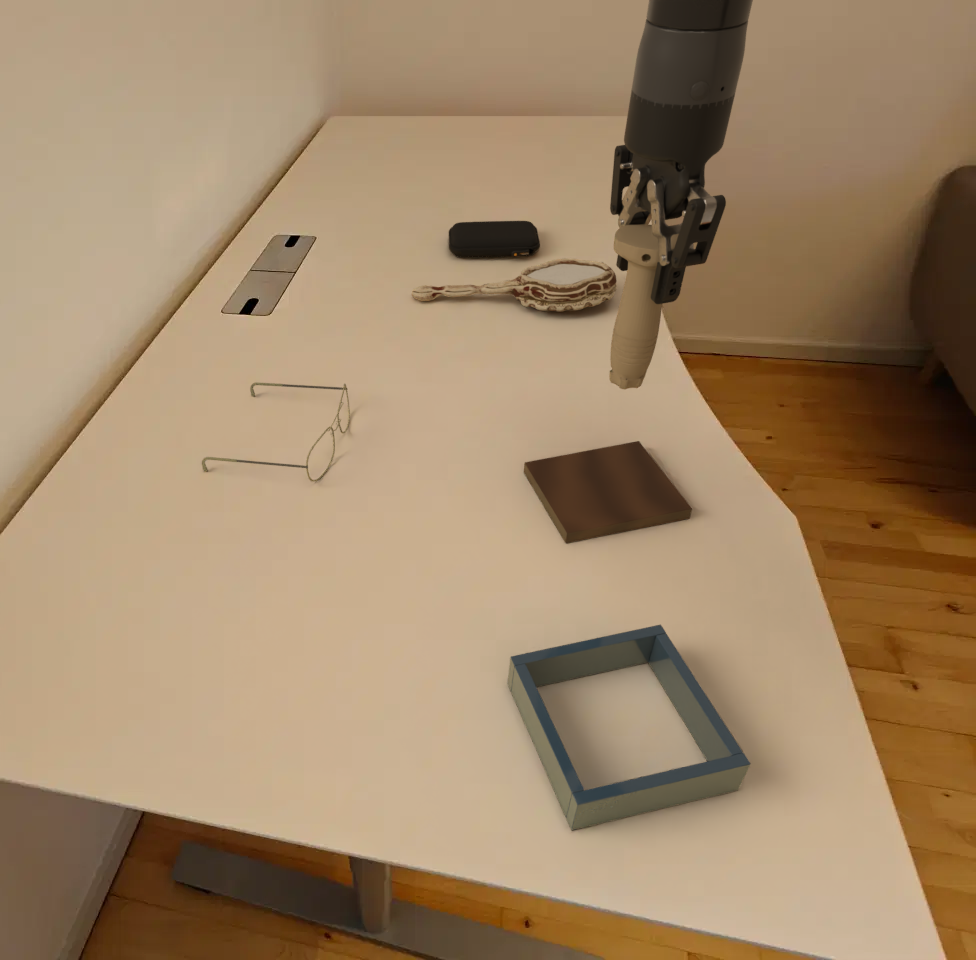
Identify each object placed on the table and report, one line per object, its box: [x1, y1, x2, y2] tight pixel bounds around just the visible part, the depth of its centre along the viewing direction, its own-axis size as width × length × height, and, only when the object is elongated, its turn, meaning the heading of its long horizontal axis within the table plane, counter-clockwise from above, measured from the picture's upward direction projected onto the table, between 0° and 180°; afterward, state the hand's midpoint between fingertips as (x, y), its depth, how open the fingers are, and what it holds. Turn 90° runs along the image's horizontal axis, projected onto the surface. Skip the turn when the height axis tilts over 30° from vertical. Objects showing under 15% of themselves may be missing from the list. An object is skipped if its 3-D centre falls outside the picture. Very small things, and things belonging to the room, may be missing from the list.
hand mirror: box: [411, 258, 618, 312], centre depth 125 cm, size 11×6×30 cm
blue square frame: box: [506, 624, 752, 831], centre depth 69 cm, size 14×14×4 cm
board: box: [523, 440, 693, 544], centre depth 93 cm, size 14×12×2 cm
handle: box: [608, 224, 679, 390], centre depth 77 cm, size 5×6×15 cm
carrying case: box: [448, 220, 541, 259], centre depth 139 cm, size 11×3×15 cm
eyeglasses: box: [201, 381, 351, 482], centre depth 103 cm, size 16×15×5 cm
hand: (645, 283), depth 75 cm, fingers closed on handle, 6 cm apart
